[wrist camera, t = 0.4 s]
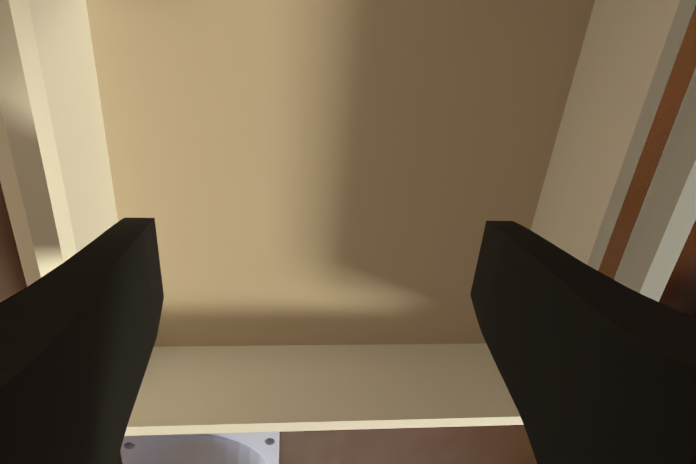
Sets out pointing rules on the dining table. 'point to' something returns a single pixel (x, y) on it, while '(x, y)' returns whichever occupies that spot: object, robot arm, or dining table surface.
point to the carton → (337, 183)
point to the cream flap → (23, 164)
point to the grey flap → (665, 209)
